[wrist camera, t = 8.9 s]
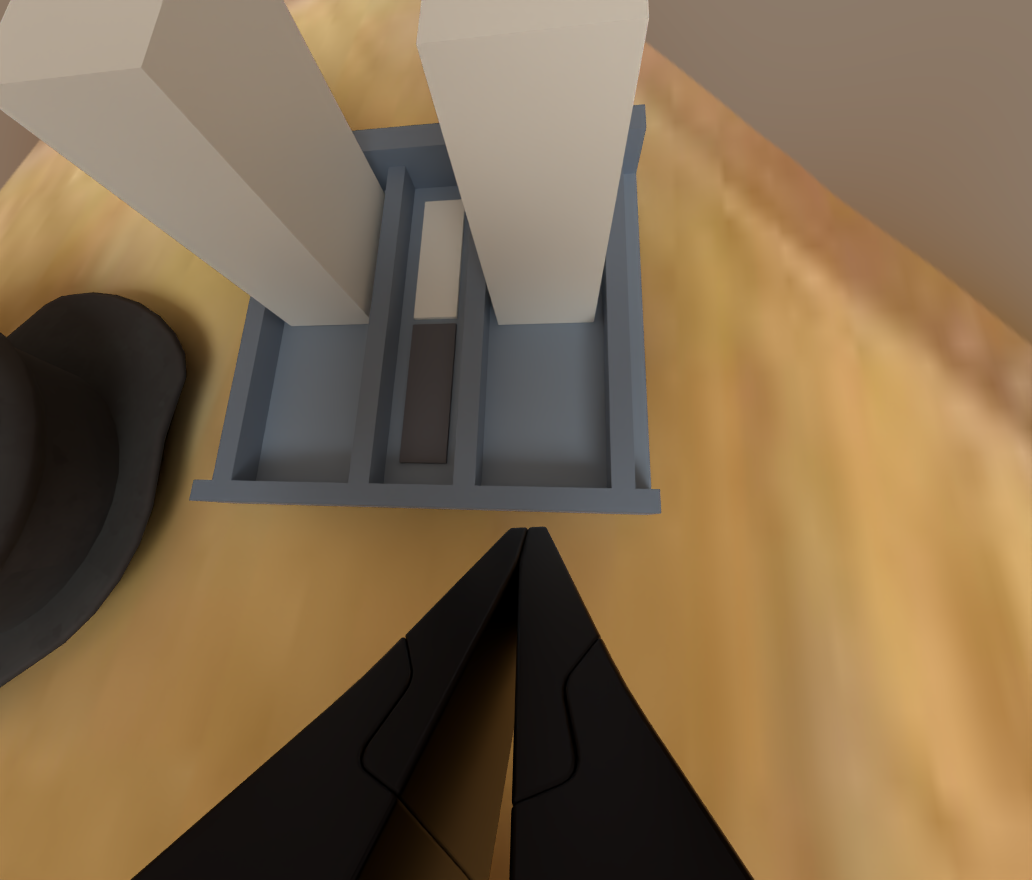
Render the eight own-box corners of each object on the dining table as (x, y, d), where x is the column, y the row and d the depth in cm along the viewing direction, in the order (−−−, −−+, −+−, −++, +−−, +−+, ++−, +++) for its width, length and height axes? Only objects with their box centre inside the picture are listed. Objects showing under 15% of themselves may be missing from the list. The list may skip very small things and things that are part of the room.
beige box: (291, 326, 21) (-47, 74, 9) (312, 208, 23) (49, -131, 11) (374, 323, 21) (127, 52, 9) (389, 203, 22) (200, -160, 11)
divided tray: (232, 503, 20) (168, 499, 17) (292, 192, 25) (251, 139, 21) (647, 514, 18) (668, 512, 15) (631, 167, 22) (644, 104, 19)
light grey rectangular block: (498, 324, 20) (410, 27, 8) (504, 199, 22) (439, -199, 10) (593, 322, 19) (652, -3, 7) (591, 194, 21) (636, -236, 9)
